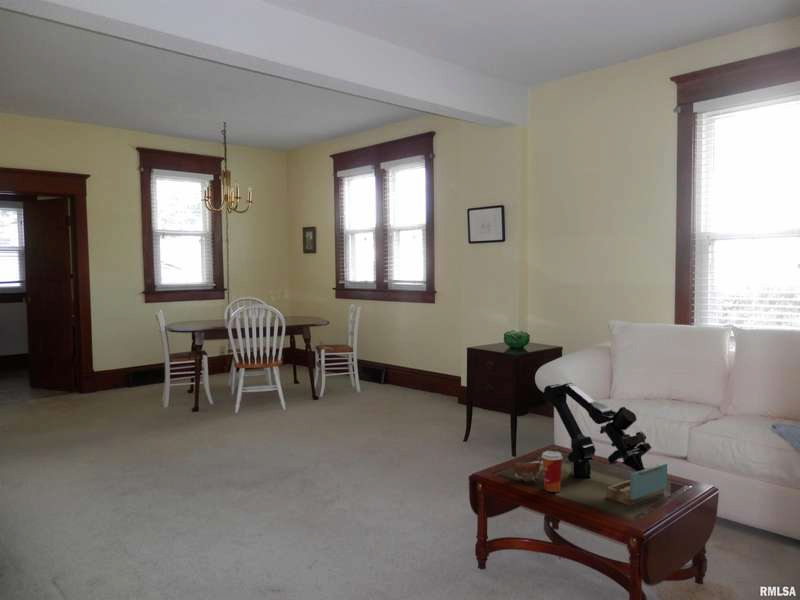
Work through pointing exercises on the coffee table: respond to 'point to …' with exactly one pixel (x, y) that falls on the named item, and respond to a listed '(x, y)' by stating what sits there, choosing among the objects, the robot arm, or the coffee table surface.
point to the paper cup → (552, 470)
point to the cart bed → (626, 493)
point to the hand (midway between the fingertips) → (644, 473)
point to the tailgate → (648, 481)
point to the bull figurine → (528, 468)
